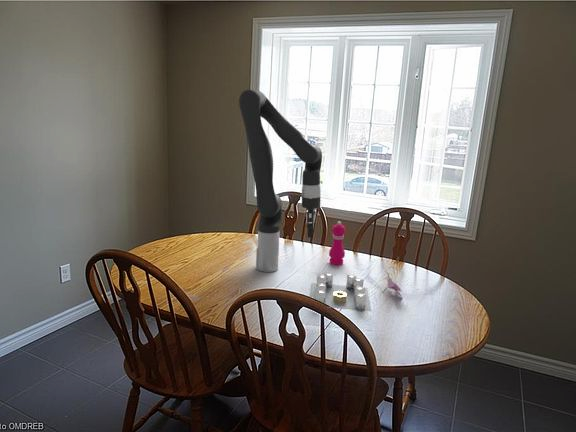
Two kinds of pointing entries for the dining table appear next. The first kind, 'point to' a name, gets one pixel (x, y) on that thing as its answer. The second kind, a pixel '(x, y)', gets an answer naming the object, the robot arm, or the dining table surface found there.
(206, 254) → the dining table surface
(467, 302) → the dining table surface
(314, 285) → the board
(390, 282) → the lily
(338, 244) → the pepper mill
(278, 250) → the robot arm
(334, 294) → the nut
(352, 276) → the spacers
